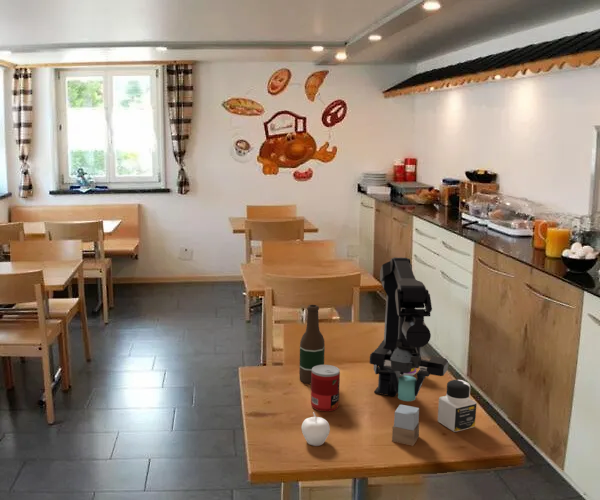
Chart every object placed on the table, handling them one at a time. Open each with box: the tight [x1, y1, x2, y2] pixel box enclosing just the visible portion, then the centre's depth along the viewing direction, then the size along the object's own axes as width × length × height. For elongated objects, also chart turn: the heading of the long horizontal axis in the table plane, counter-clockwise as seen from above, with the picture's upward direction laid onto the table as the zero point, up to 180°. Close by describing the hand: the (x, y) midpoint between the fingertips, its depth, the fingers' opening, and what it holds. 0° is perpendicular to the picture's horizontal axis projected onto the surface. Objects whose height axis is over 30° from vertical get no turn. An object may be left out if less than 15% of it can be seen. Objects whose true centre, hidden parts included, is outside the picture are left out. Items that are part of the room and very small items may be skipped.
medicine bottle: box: [437, 379, 477, 433], centre depth 173 cm, size 7×7×12 cm
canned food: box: [310, 364, 341, 412], centre depth 183 cm, size 8×8×11 cm
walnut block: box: [391, 421, 420, 447], centre depth 165 cm, size 6×6×4 cm
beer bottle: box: [298, 304, 326, 385], centre depth 201 cm, size 8×8×24 cm
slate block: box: [393, 404, 420, 431], centre depth 165 cm, size 5×5×4 cm
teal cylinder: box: [397, 375, 417, 402], centre depth 163 cm, size 4×4×5 cm
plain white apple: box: [301, 411, 331, 447], centre depth 162 cm, size 7×7×8 cm
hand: (406, 393), depth 163 cm, fingers closed on teal cylinder, 4 cm apart
